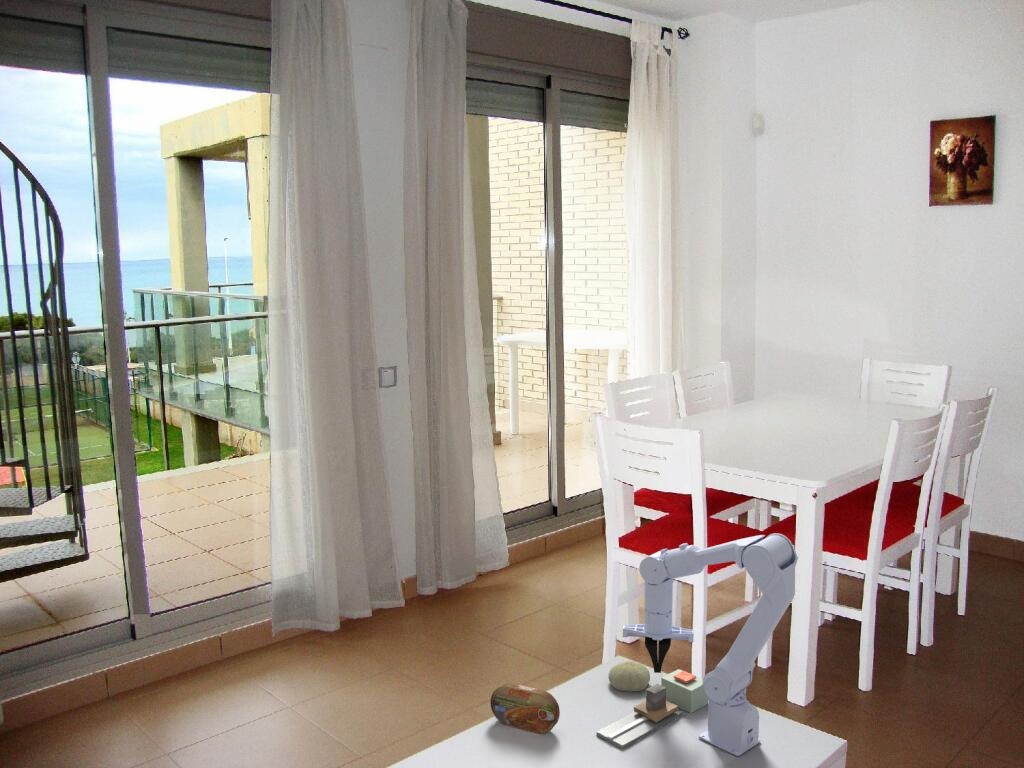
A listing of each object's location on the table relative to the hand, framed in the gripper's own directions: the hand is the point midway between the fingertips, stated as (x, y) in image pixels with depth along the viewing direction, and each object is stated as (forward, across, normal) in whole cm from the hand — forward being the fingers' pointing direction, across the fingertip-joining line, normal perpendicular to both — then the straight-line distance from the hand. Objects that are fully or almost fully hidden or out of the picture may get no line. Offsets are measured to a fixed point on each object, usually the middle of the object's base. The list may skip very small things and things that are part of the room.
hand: (657, 670), depth 191 cm
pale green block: (+9, +6, +6) cm, 12 cm away
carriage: (+8, 0, -2) cm, 8 cm away
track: (+9, -3, -6) cm, 11 cm away
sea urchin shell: (+10, -7, +12) cm, 16 cm away
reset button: (+6, +6, +6) cm, 10 cm away
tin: (+10, -26, -10) cm, 30 cm away
